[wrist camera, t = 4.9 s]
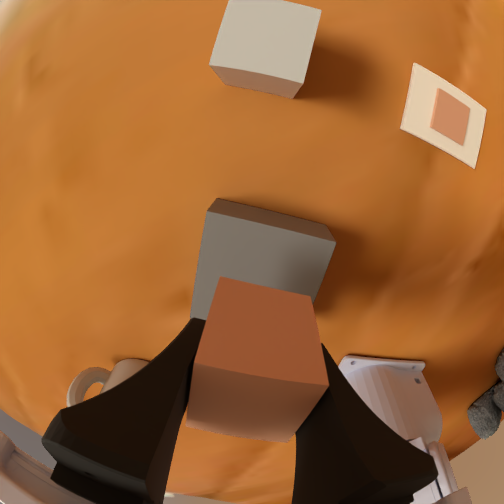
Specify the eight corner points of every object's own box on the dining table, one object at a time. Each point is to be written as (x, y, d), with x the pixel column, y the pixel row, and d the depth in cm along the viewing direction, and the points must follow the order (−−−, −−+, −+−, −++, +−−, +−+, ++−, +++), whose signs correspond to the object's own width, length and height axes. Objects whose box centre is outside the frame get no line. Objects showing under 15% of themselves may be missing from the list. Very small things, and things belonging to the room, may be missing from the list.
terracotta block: (284, 358, 14) (287, 442, 9) (206, 343, 13) (185, 426, 9) (310, 296, 12) (329, 385, 7) (219, 276, 12) (193, 362, 7)
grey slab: (325, 225, 17) (336, 242, 15) (294, 313, 20) (297, 340, 17) (216, 198, 17) (206, 210, 14) (199, 293, 20) (189, 318, 17)
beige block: (306, 42, 13) (321, 10, 8) (292, 99, 14) (303, 83, 10) (240, 28, 13) (231, -8, 8) (225, 84, 14) (209, 64, 10)
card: (483, 109, 13) (488, 109, 12) (472, 168, 15) (477, 169, 14) (413, 63, 12) (417, 61, 12) (399, 129, 14) (404, 129, 14)
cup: (168, 410, 26) (149, 476, 18) (89, 369, 25) (54, 428, 17) (190, 379, 24) (169, 460, 16) (95, 329, 22) (49, 398, 14)
